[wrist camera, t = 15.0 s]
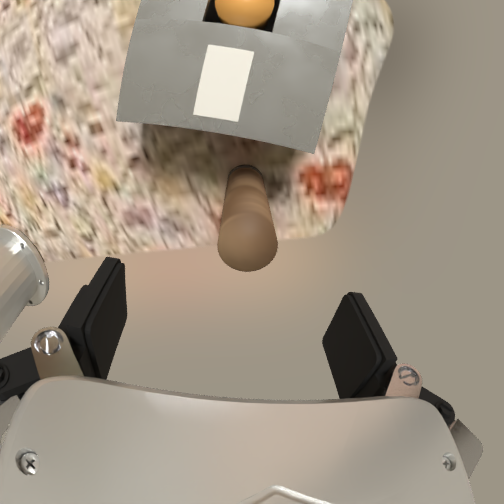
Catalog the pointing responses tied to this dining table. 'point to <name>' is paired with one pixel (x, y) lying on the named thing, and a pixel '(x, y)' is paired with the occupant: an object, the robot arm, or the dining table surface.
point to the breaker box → (234, 70)
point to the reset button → (245, 12)
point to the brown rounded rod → (246, 222)
